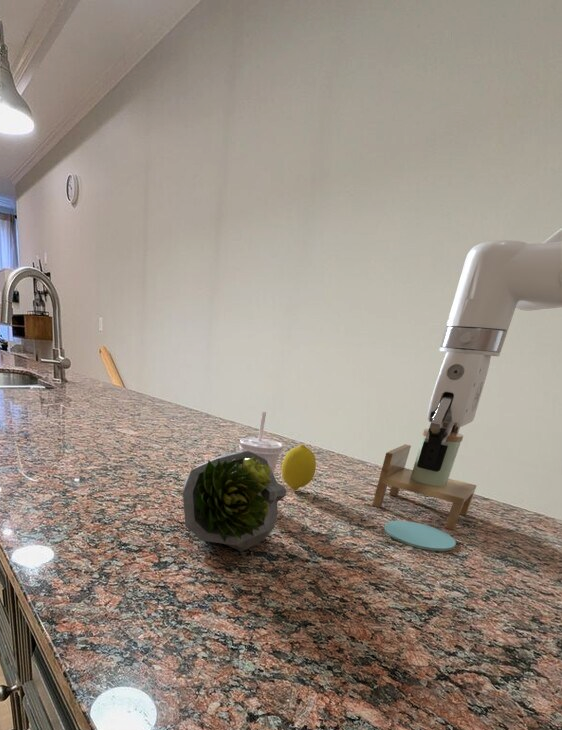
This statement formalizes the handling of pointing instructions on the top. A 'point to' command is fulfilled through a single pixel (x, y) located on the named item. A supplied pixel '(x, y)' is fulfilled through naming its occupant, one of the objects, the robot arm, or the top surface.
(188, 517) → the potted plant
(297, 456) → the lemon
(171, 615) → the top surface
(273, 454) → the smoothie
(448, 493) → the toy wooden bed
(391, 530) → the coaster
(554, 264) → the robot arm
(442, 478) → the spice jar
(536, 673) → the top surface
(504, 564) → the top surface
